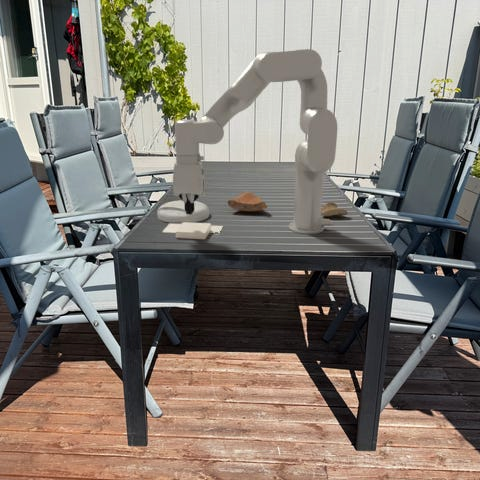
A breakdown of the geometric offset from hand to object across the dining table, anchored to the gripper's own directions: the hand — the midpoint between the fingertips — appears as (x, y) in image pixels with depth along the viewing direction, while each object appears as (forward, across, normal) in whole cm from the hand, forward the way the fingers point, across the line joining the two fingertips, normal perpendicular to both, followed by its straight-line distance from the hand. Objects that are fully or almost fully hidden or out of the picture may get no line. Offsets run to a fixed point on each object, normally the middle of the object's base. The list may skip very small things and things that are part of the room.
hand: (189, 213), depth 155 cm
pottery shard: (+8, -52, -28) cm, 59 cm away
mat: (+8, 0, 0) cm, 8 cm away
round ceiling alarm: (+11, +8, -22) cm, 26 cm away
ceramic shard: (+7, -24, -32) cm, 41 cm away
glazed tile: (+6, -6, 0) cm, 9 cm away
